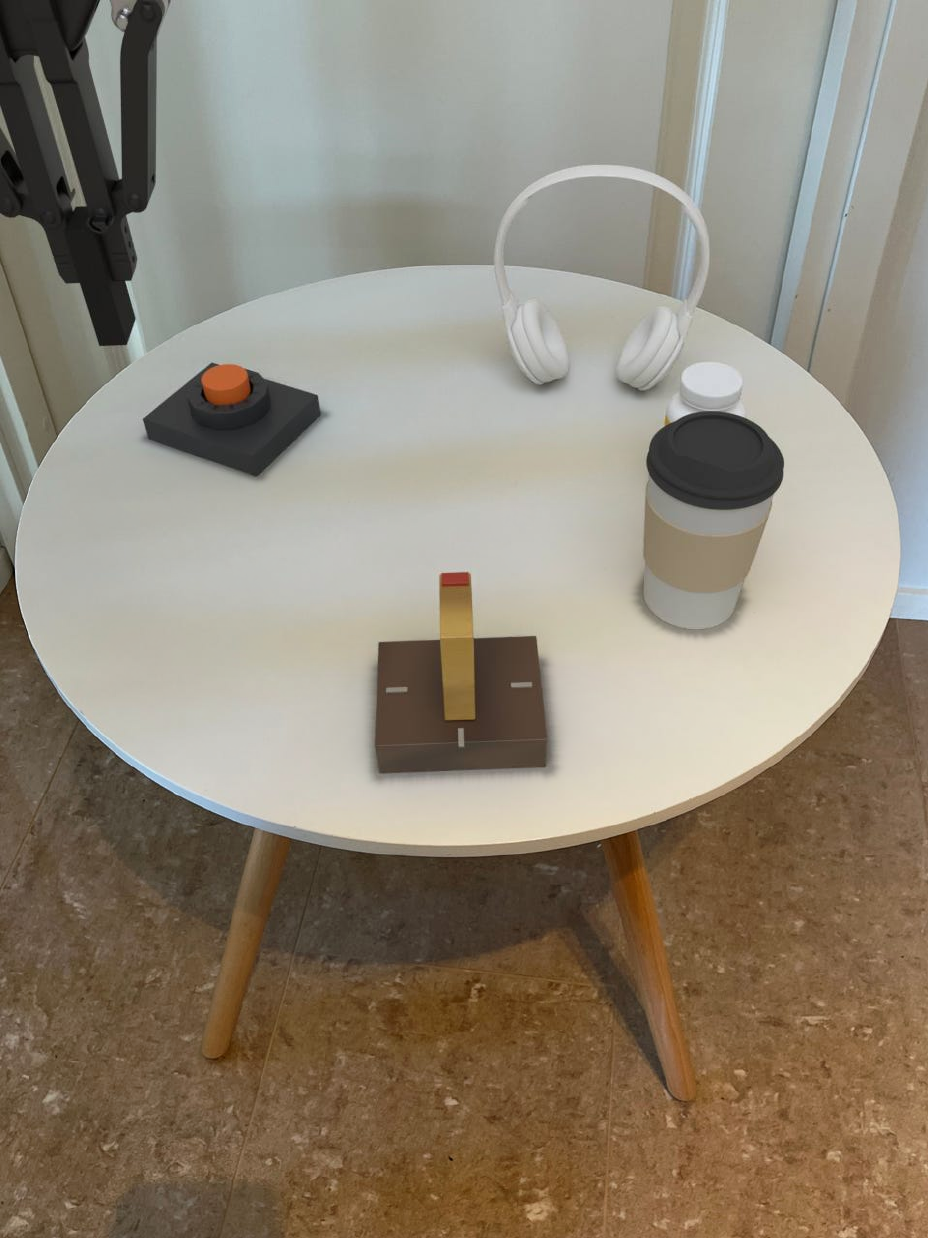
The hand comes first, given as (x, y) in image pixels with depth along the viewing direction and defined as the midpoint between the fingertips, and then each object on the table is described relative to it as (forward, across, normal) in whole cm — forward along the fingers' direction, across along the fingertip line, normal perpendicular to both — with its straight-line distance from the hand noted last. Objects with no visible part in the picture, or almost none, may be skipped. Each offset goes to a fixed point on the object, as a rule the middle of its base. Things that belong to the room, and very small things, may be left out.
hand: (117, 331), depth 58 cm
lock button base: (+26, +2, -27) cm, 38 cm away
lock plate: (+26, -18, +7) cm, 33 cm away
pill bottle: (+27, -38, -16) cm, 49 cm away
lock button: (+23, +2, -27) cm, 36 cm away
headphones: (+27, -32, -33) cm, 53 cm away
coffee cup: (+27, -36, -4) cm, 45 cm away
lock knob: (+23, -18, +7) cm, 30 cm away
